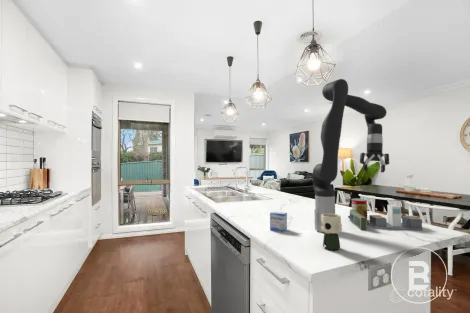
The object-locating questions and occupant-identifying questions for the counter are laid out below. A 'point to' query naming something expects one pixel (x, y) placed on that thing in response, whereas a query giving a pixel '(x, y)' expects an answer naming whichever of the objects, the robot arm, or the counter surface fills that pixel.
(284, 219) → the medicine box
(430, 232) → the counter surface
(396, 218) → the block
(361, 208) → the canned food
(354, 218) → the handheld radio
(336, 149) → the robot arm
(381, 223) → the grey stepped block
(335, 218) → the character mug
